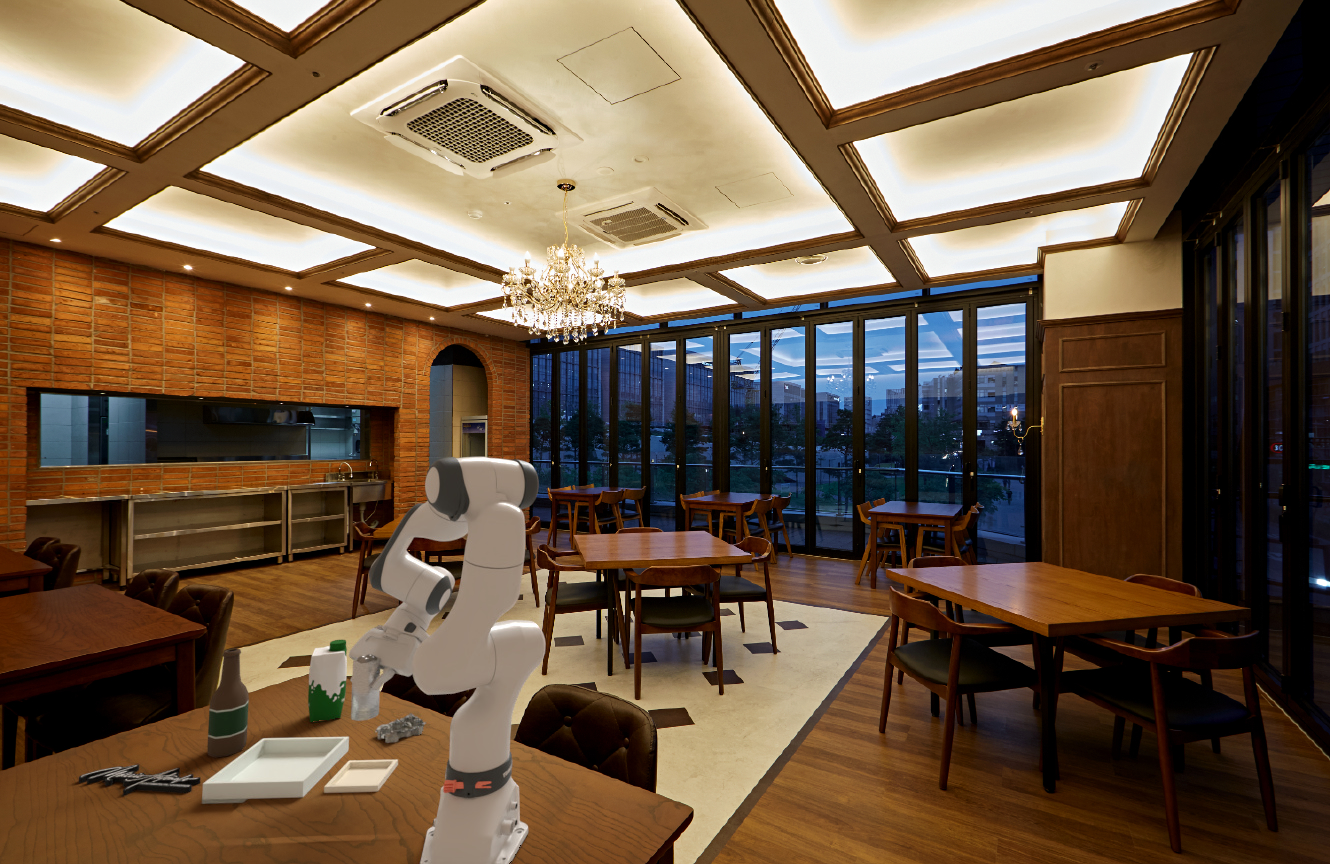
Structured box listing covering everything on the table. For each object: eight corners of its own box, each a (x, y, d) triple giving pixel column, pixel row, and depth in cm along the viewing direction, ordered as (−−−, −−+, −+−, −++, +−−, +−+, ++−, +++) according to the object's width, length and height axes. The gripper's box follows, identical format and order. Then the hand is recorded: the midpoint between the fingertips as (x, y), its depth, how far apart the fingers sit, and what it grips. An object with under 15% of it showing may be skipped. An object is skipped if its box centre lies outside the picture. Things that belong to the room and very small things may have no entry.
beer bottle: (230, 758, 139) (235, 655, 140) (198, 757, 139) (203, 654, 141) (254, 742, 147) (258, 645, 148) (223, 742, 147) (228, 644, 148)
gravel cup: (372, 720, 128) (374, 659, 128) (346, 720, 127) (348, 660, 128) (382, 709, 133) (384, 651, 134) (357, 710, 133) (359, 652, 134)
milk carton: (343, 719, 161) (346, 644, 162) (305, 725, 157) (308, 649, 158) (346, 707, 169) (348, 636, 170) (309, 712, 165) (312, 640, 166)
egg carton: (388, 749, 145) (389, 732, 145) (372, 740, 149) (373, 724, 149) (427, 733, 153) (428, 717, 154) (411, 725, 158) (412, 710, 158)
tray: (377, 794, 124) (377, 785, 125) (323, 796, 124) (324, 786, 124) (397, 768, 135) (398, 759, 135) (348, 769, 135) (348, 760, 135)
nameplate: (58, 786, 125) (106, 762, 135) (58, 793, 124) (106, 769, 134) (178, 793, 122) (218, 768, 132) (178, 801, 122) (218, 775, 132)
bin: (302, 800, 122) (303, 781, 122) (201, 803, 121) (202, 783, 121) (348, 753, 142) (348, 736, 142) (262, 755, 141) (263, 738, 141)
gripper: (367, 616, 142) (326, 670, 133) (424, 628, 132) (383, 687, 123) (383, 631, 146) (344, 683, 137) (440, 643, 136) (401, 701, 127)
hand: (363, 685), depth 130 cm, fingers closed on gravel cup, 5 cm apart
